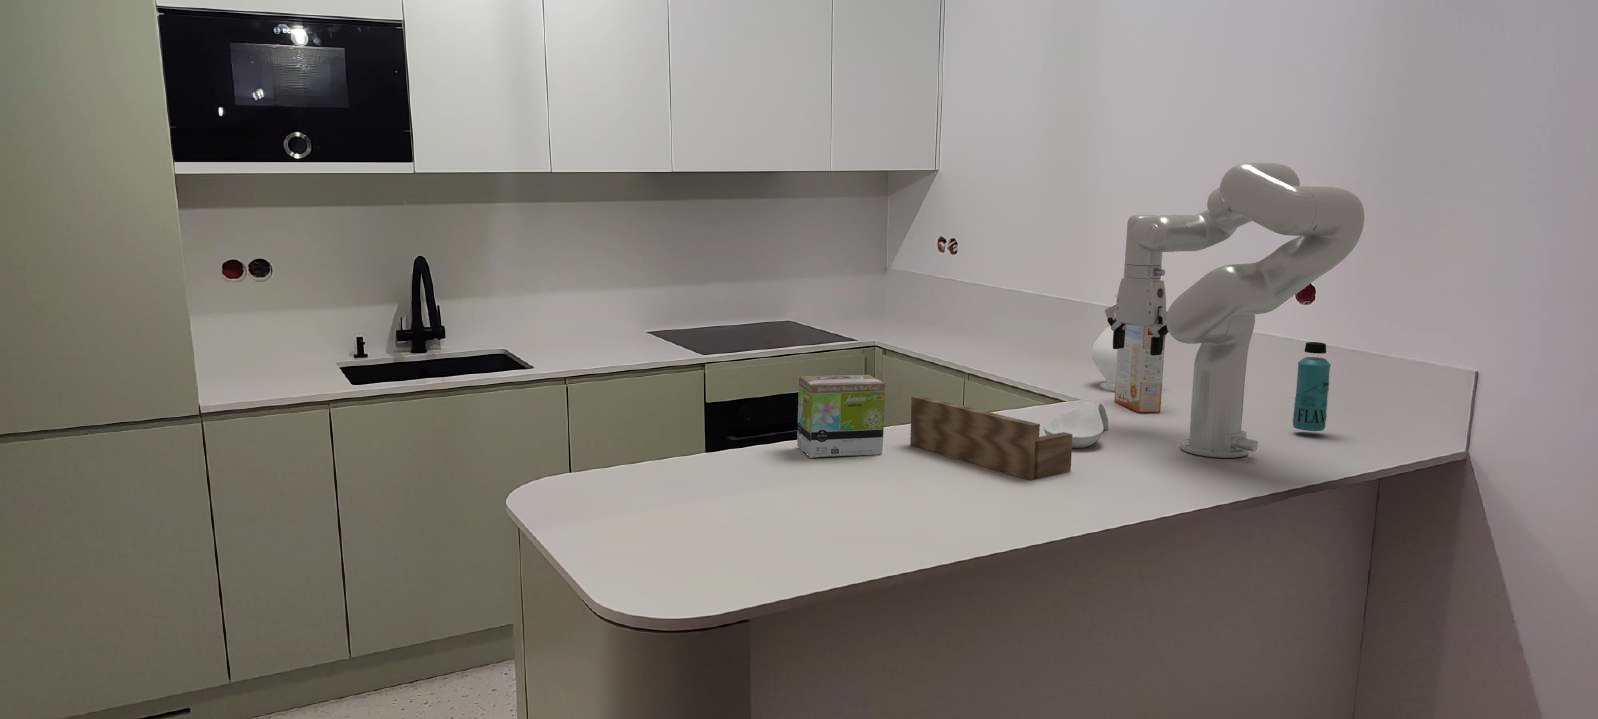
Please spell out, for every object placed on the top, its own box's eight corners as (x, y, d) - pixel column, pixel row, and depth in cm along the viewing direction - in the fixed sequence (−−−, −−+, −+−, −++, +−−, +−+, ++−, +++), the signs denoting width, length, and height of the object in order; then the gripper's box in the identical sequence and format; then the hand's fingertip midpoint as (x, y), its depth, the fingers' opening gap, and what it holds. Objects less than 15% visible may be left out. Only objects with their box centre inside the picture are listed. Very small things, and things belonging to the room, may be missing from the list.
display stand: (1070, 471, 191) (1073, 418, 189) (1029, 480, 184) (1032, 425, 183) (949, 437, 217) (951, 391, 215) (910, 445, 210) (911, 396, 209)
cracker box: (1162, 413, 243) (1167, 324, 240) (1137, 413, 242) (1142, 325, 239) (1136, 401, 257) (1141, 317, 253) (1113, 402, 256) (1118, 318, 253)
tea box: (810, 460, 198) (811, 384, 196) (796, 447, 208) (797, 375, 205) (884, 455, 202) (885, 380, 200) (867, 443, 212) (868, 372, 209)
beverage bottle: (1290, 436, 220) (1298, 343, 217) (1292, 430, 226) (1299, 339, 223) (1324, 439, 217) (1333, 345, 214) (1325, 433, 223) (1333, 341, 220)
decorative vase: (1130, 380, 286) (1135, 290, 282) (1175, 391, 270) (1181, 296, 266) (1076, 384, 280) (1080, 292, 276) (1119, 396, 263) (1124, 298, 259)
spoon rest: (1092, 455, 204) (1094, 420, 202) (1034, 448, 210) (1036, 413, 209) (1124, 432, 223) (1125, 400, 222) (1070, 426, 230) (1071, 394, 228)
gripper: (1188, 275, 217) (1182, 356, 220) (1120, 269, 231) (1115, 345, 233) (1166, 277, 212) (1160, 359, 215) (1098, 270, 226) (1093, 347, 229)
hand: (1136, 351), depth 224 cm, fingers open, 9 cm apart
